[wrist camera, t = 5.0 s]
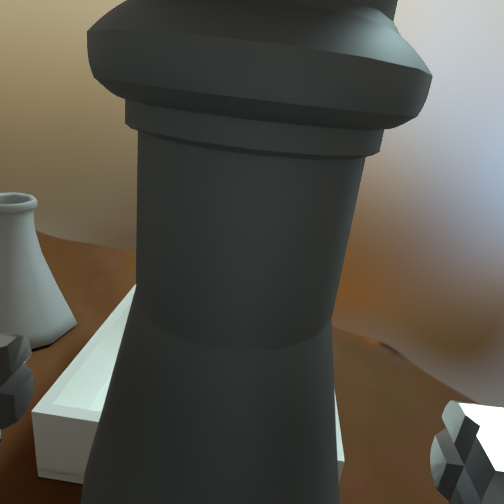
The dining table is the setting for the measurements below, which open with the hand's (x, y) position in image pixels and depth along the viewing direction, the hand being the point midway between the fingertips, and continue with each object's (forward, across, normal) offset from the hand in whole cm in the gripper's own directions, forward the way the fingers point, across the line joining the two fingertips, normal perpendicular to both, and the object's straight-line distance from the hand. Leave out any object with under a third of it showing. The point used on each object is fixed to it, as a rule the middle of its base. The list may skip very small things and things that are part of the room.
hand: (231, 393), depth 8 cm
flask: (+19, -17, -13) cm, 29 cm away
